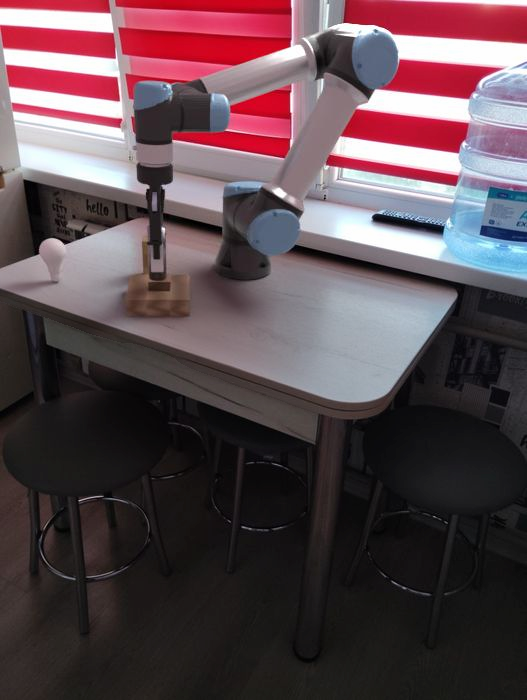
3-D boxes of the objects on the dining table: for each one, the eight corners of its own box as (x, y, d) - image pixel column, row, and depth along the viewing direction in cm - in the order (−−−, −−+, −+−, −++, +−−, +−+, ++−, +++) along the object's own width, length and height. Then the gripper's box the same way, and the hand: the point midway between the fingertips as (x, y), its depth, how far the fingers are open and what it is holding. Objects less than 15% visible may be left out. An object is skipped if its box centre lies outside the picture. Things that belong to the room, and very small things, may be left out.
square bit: (160, 272, 155) (158, 236, 150) (159, 278, 151) (158, 241, 146) (144, 272, 154) (142, 235, 149) (143, 278, 151) (141, 241, 146)
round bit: (166, 274, 138) (165, 224, 132) (166, 281, 135) (165, 230, 129) (149, 273, 138) (147, 223, 132) (148, 280, 134) (146, 229, 128)
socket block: (189, 289, 147) (189, 274, 145) (189, 315, 135) (189, 299, 133) (131, 289, 145) (130, 274, 143) (126, 315, 133) (125, 299, 131)
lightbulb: (62, 288, 143) (56, 244, 138) (38, 284, 144) (32, 241, 139) (74, 278, 148) (69, 236, 143) (51, 275, 149) (45, 233, 144)
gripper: (138, 153, 130) (143, 253, 142) (133, 172, 116) (138, 282, 127) (173, 154, 131) (174, 253, 143) (172, 173, 117) (173, 282, 128)
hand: (157, 267), depth 135 cm, fingers closed on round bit, 4 cm apart
